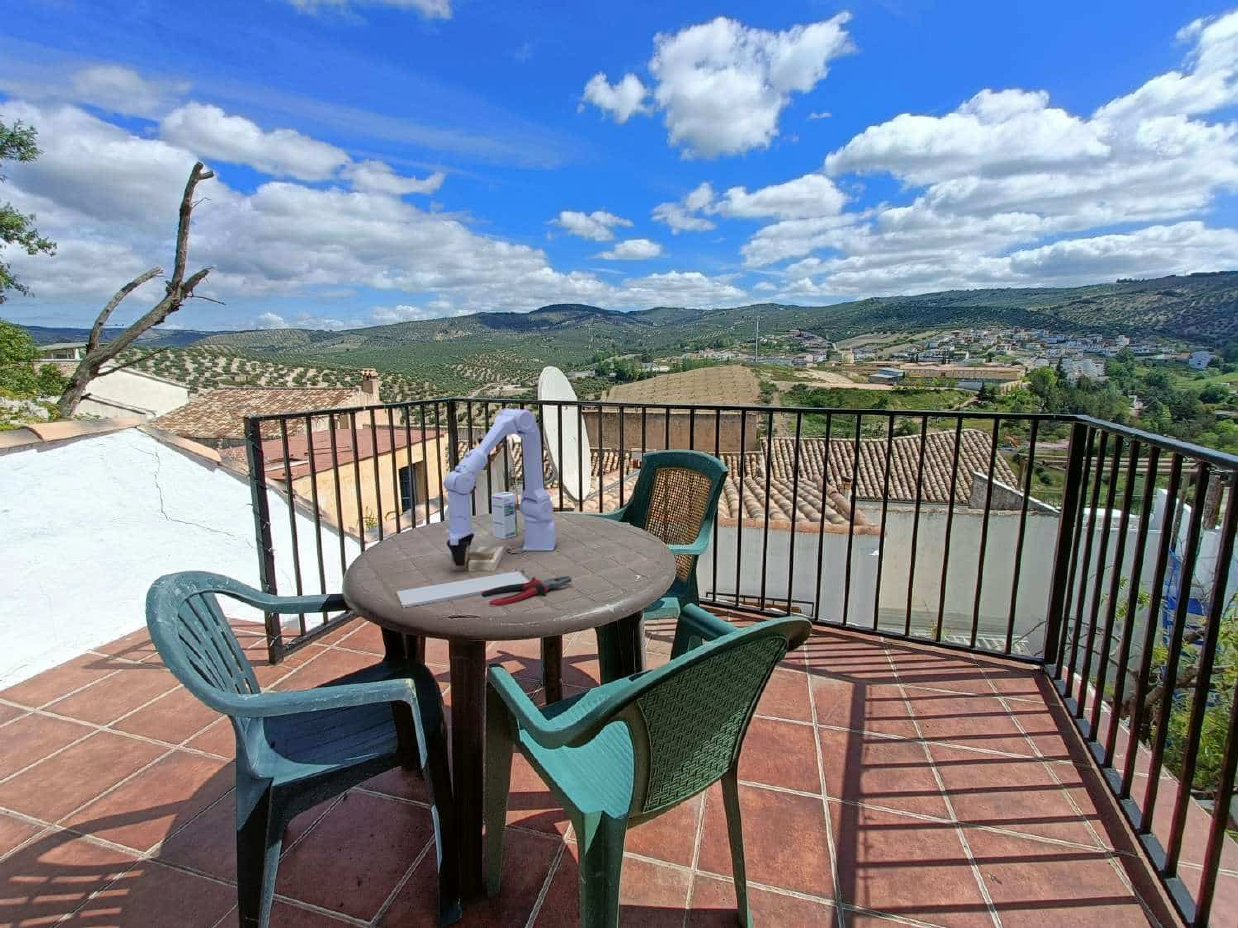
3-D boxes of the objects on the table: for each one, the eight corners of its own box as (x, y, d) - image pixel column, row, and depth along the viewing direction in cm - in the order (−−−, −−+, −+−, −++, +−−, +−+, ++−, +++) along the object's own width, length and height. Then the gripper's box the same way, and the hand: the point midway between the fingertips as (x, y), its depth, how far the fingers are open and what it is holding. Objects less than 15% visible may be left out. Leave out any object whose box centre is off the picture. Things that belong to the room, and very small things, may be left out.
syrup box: (504, 539, 186) (503, 496, 183) (492, 536, 189) (491, 493, 187) (517, 535, 190) (516, 493, 188) (505, 532, 194) (504, 490, 191)
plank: (503, 554, 171) (503, 546, 170) (494, 570, 157) (494, 561, 156) (480, 554, 170) (479, 546, 170) (468, 570, 157) (468, 561, 156)
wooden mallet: (495, 565, 161) (494, 544, 160) (492, 569, 157) (492, 549, 156) (455, 565, 161) (454, 544, 160) (452, 570, 157) (451, 549, 156)
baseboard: (395, 593, 142) (402, 611, 132) (394, 582, 142) (402, 599, 131) (515, 573, 157) (530, 587, 146) (515, 563, 156) (530, 577, 146)
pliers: (490, 600, 132) (576, 578, 143) (480, 587, 140) (563, 567, 150) (491, 612, 133) (577, 589, 143) (481, 599, 140) (563, 578, 151)
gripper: (452, 508, 164) (454, 554, 166) (437, 521, 149) (439, 571, 152) (477, 508, 164) (478, 554, 166) (464, 521, 150) (466, 571, 152)
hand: (461, 562), depth 159 cm, fingers closed on wooden mallet, 4 cm apart
